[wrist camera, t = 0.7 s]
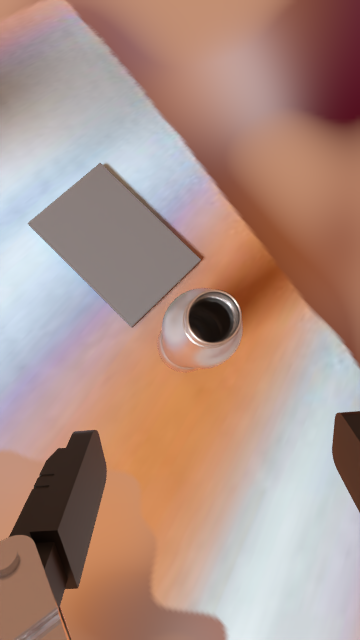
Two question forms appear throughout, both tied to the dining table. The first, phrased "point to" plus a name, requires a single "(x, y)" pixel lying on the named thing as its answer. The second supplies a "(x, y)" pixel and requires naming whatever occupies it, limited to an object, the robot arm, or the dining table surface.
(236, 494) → the dining table surface
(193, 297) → the plastic bottle
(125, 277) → the grey rubber mat
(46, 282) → the dining table surface
